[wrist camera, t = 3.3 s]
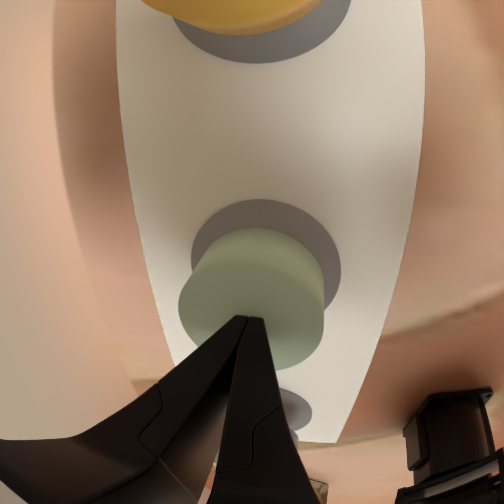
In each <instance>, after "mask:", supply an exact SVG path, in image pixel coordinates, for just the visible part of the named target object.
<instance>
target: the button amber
mask: <svg viewBox="0 0 504 504" xmlns="http://www.w3.org/2000/svg"><path fill="white" fill-rule="evenodd" d="M141 1H142V2H144V3H145V4H146V5H148V6H149V7H151V8H153V9H155V10H157V11H160V12H162V13H165V14H167V15H170V16H172V17H175V18H177V19H179V20H182V21H184V22H187V23H189V24H191V25H193V26H196V27H198V28H200V29H202V30H206V31H209V32H212V33H217V34H222V35H234V36H239V35H254V34H261V33H265V32H270V31H273V30H276V29H280V28H282V27H285V26H287V25H289V24H292V23H294V22H295V21H297V20H299V19H301V18H302V17H304V16H305V15H307V14H308V13H309V12H311V11H312V10H313V9H314V8H315V7H316V6H317V5H318V4H319V3H320V2H321V1H322V0H141Z"/></svg>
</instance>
